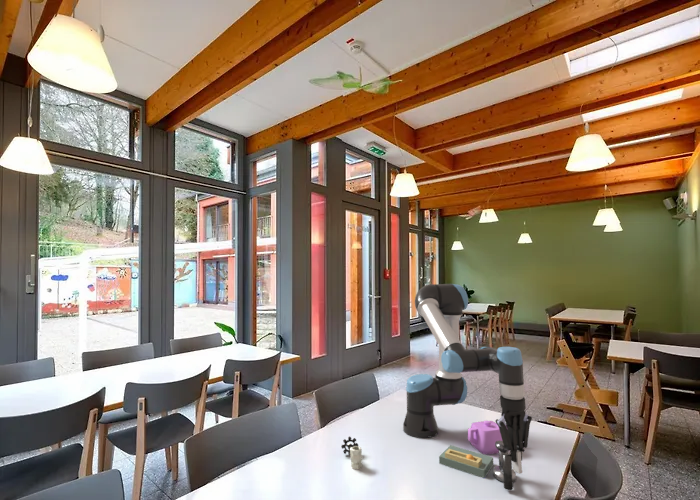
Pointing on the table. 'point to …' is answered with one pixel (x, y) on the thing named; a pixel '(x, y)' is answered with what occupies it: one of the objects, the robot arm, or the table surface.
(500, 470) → the cam capstan
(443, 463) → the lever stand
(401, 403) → the table surface
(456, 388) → the robot arm
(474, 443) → the teapot
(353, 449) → the valve
